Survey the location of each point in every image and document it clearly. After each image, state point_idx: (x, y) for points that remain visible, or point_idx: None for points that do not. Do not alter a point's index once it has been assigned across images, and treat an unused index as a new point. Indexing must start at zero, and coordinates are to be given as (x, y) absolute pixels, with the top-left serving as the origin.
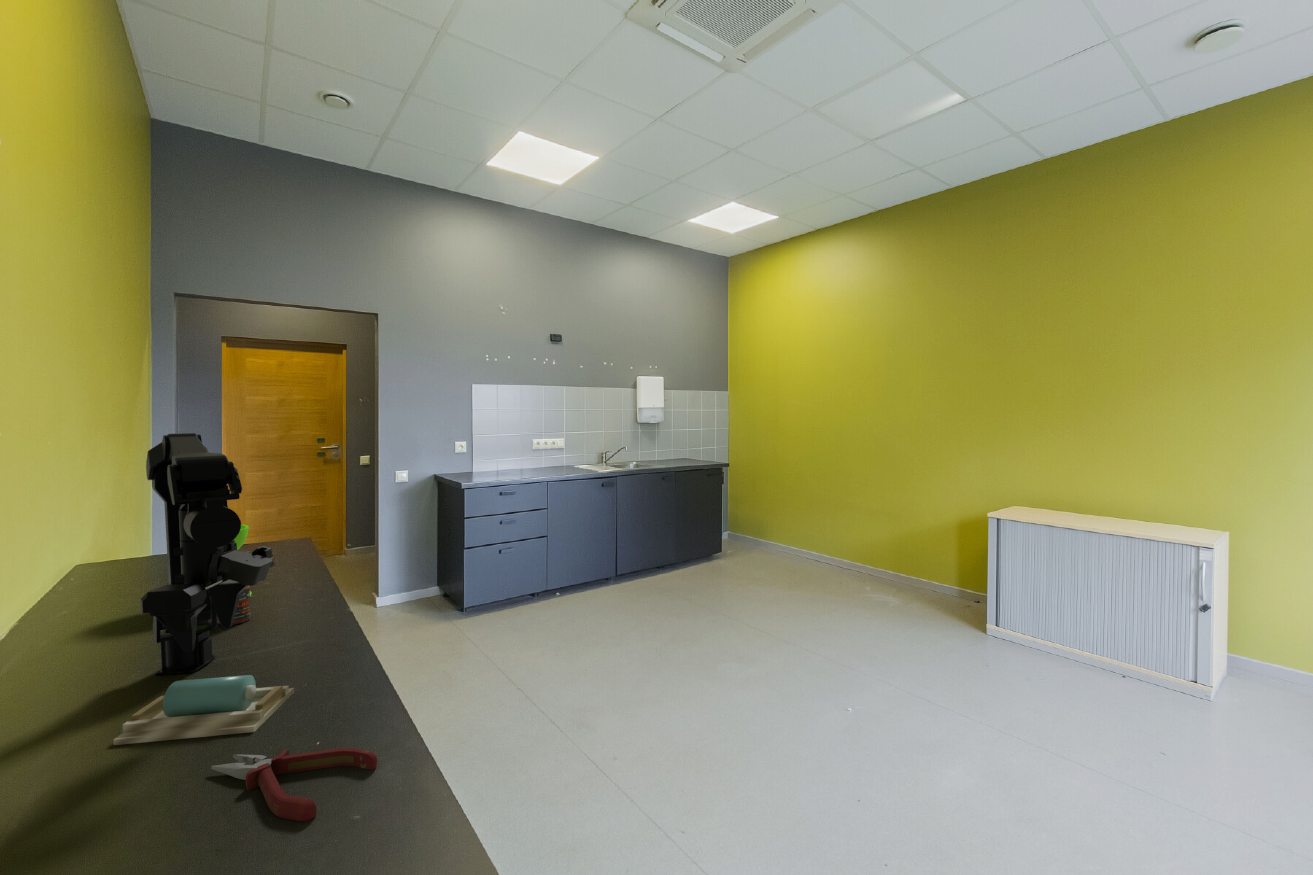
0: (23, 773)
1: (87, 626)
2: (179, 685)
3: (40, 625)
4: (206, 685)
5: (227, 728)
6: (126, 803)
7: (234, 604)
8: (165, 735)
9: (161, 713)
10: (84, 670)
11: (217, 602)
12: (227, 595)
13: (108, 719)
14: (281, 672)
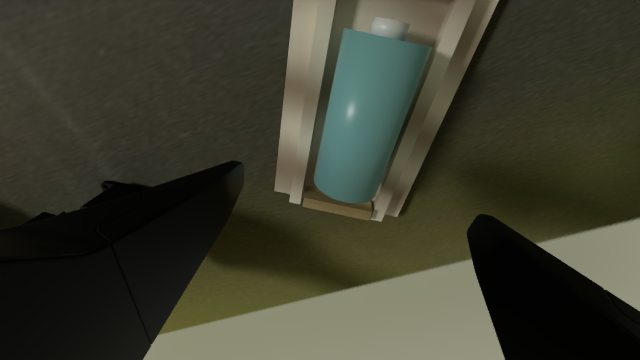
0: (419, 265)
1: None
2: (362, 187)
3: None
4: (387, 134)
5: (472, 49)
6: (635, 136)
7: (172, 208)
8: (424, 156)
9: None
10: None
11: (170, 292)
12: (122, 295)
13: (304, 239)
14: (170, 24)
